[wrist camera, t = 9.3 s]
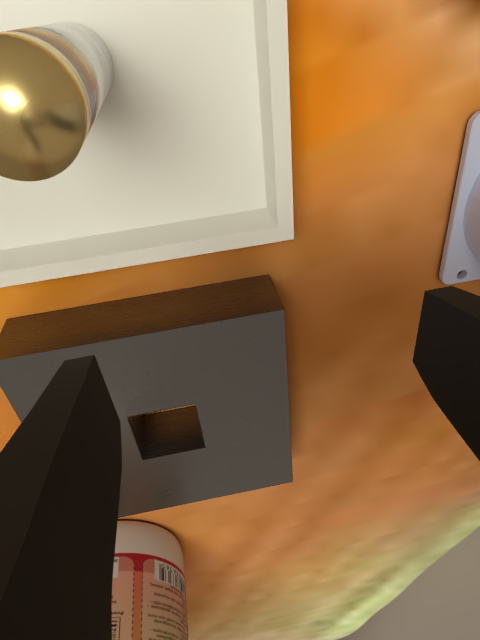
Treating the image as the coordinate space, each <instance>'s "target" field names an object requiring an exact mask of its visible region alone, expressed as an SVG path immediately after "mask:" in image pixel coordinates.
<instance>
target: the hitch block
mask: <svg viewBox="0 0 480 640" xmlns="http://www.w3.org/2000/svg"><path fill="white" fill-rule="evenodd" d="M90 355H95V357H96V360H97V362H98V365H99V368H100V370H101V373H102V375H103V378H104V381H105V383H106V386H107V388H108V391H109V394H110V396H111V399H112V401H113V404H114V407H115V409H116V412H117V414H118V417H119V420H120V424H121V445H122V474H121V487H120V499H119V510H118V518H119V517H124V516H129V515H134V514H139V513H144V512H149V511H153V510H158V509H163V508H168V507H173V506H178V505H183V504H187V503H192V502H197V501H202V500H207V499H212V498H217V497H221V496H226V495H231V494H236V493H241V492H246V491H250V490H255V489H260V488H265V487H270V486H275V485H280V484H284V483H289V482H293V475H292V454H291V434H290V414H289V393H288V373H287V353H286V332H285V312H284V308H283V305H282V303H281V301H280V299H279V296H278V294H277V292H276V290H275V287H274V285H273V283H272V281H271V278H270V276H269V275H263V276H257V277H252V278H246V279H240V280H234V281H228V282H222V283H216V284H210V285H205V286H199V287H193V288H187V289H181V290H175V291H169V292H163V293H158V294H152V295H146V296H140V297H134V298H128V299H122V300H116V301H110V302H105V303H99V304H93V305H87V306H81V307H75V308H69V309H63V310H58V311H52V312H46V313H40V314H34V315H28V316H22V317H16V318H11V319H7V320H6V322H5V324H4V326H3V329H2V331H1V333H0V386H1V388H2V390H3V391H4V393H5V395H6V397H7V398H8V400H9V402H10V403H11V405H12V407H13V409H14V410H15V412H16V414H17V416H18V417H19V419H20V421H21V422H23V420H24V419H25V418H26V416H27V415H28V413H29V412H30V410H31V409H32V407H33V406H34V404H35V403H36V401H37V400H38V399H39V397H40V396H41V394H42V393H43V391H44V390H45V388H46V387H47V385H48V384H49V382H50V381H51V379H52V378H53V376H54V375H55V373H56V372H57V370H58V369H59V368H60V366H61V365H62V363H63V362H64V361H65V360H70V359H75V358H80V357H85V356H90ZM192 404H196V406H192V407H187V408H182V409H176V410H171V411H166V412H161V413H155V414H150V415H145V416H143V414H144V413H150V412H155V411H160V410H165V409H171V408H176V407H181V406H187V405H192Z"/></svg>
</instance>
